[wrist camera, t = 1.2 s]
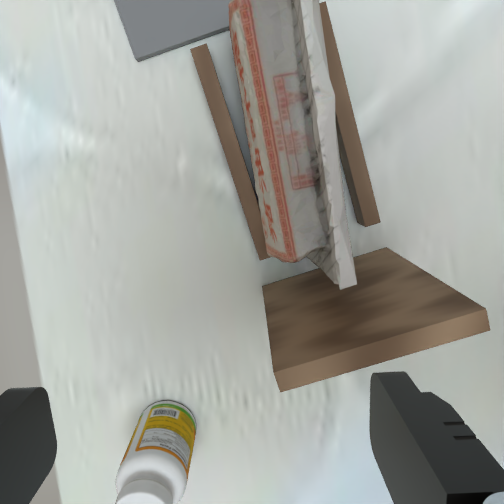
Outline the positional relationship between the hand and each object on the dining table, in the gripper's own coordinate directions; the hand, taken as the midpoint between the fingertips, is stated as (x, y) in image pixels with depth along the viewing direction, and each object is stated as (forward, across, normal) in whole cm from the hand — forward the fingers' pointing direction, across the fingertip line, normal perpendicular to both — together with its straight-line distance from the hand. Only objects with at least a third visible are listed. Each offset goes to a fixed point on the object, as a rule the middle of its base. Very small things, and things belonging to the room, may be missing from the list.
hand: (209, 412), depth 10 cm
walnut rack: (+24, -4, -7) cm, 25 cm away
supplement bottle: (+24, +8, +18) cm, 30 cm away
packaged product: (+24, -3, -7) cm, 25 cm away
